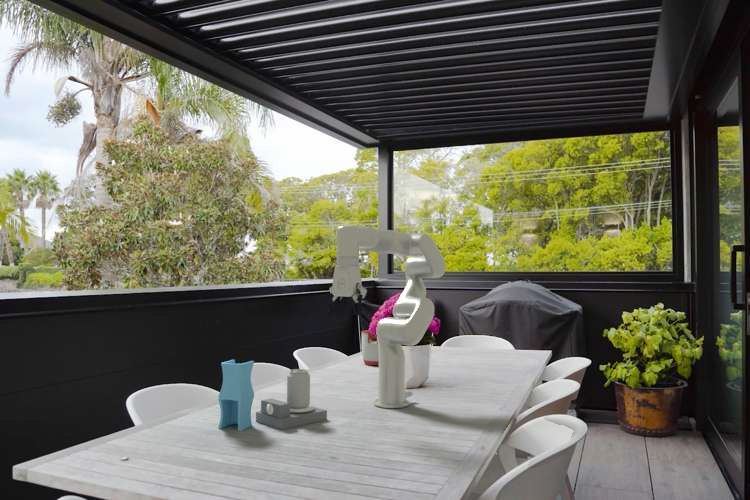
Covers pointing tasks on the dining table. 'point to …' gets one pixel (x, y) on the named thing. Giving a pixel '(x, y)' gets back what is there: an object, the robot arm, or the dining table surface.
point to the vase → (236, 394)
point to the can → (298, 388)
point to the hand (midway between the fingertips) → (347, 313)
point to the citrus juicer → (370, 348)
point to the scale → (288, 414)
